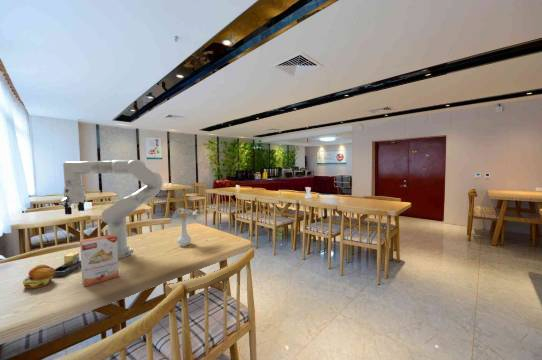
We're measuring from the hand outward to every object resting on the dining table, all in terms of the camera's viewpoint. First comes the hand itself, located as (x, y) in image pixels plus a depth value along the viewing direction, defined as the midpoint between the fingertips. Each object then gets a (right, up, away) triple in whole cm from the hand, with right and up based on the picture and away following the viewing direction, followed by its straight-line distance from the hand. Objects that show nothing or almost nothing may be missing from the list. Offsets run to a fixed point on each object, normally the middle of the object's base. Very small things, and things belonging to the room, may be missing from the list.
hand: (75, 212), depth 138 cm
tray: (+5, -29, -12) cm, 32 cm away
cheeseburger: (+5, -31, -26) cm, 40 cm away
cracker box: (+31, -30, -22) cm, 48 cm away
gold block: (+5, -28, -8) cm, 30 cm away
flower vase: (+54, -26, +27) cm, 66 cm away
